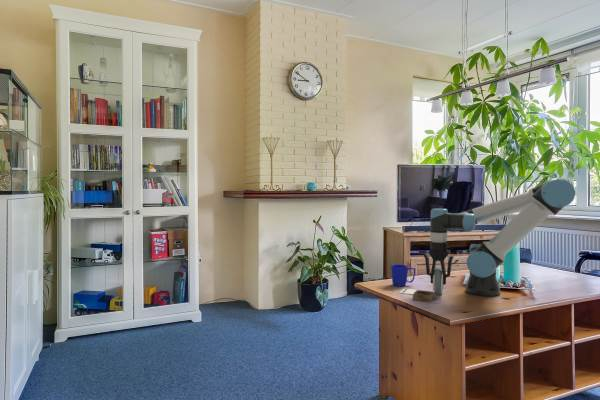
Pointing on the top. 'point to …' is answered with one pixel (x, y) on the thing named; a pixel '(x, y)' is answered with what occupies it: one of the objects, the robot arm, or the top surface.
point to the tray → (424, 296)
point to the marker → (438, 281)
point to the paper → (407, 291)
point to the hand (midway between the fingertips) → (438, 290)
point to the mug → (400, 275)
